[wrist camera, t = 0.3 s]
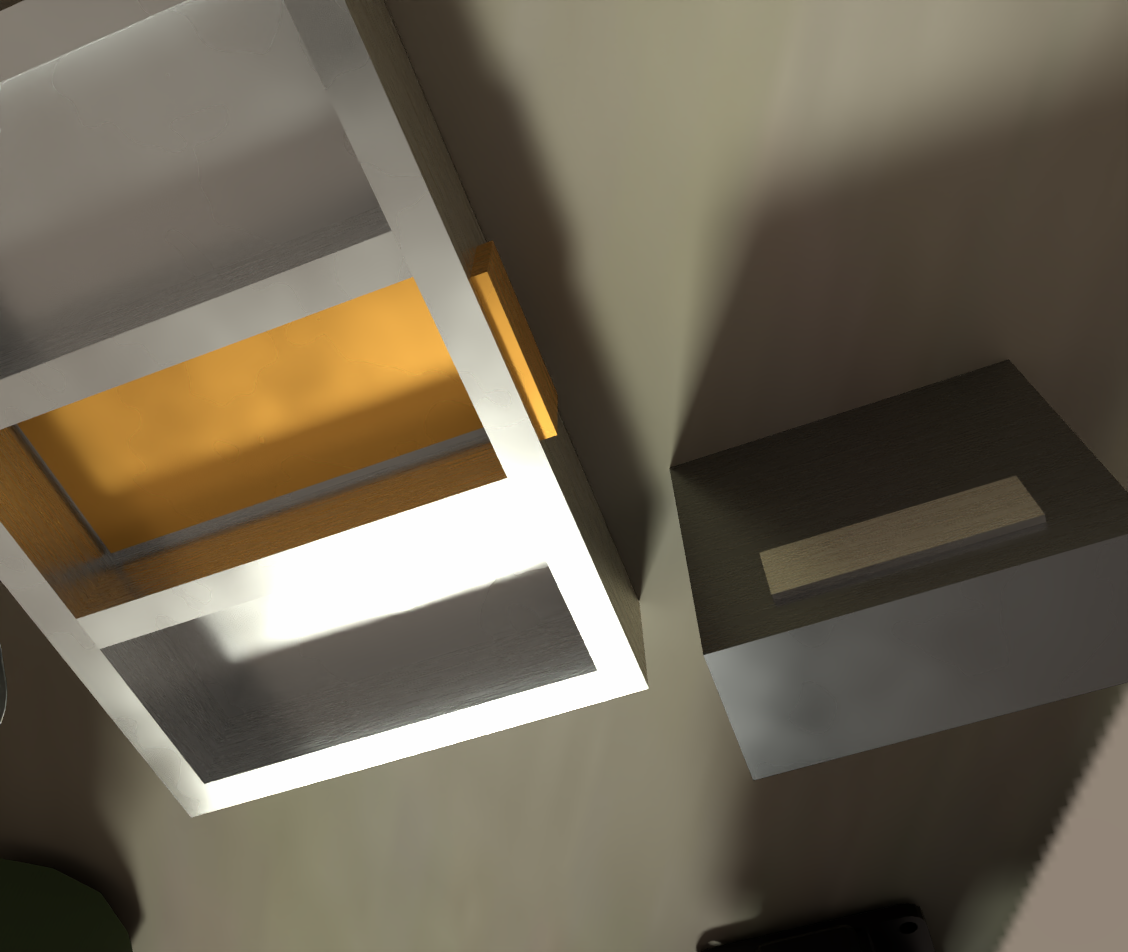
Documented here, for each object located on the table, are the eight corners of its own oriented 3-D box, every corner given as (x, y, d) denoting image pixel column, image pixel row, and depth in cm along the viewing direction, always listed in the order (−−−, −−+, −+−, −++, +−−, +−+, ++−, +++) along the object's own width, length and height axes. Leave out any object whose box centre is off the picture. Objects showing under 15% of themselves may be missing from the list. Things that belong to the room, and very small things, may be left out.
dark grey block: (1028, 480, 22) (1172, 670, 17) (710, 575, 23) (752, 780, 18) (1006, 351, 21) (1156, 518, 15) (667, 461, 22) (700, 648, 17)
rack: (652, 599, 24) (662, 684, 21) (225, 726, 25) (191, 817, 23) (347, -133, 16) (311, -130, 14) (-217, 122, 18) (-335, 163, 16)
